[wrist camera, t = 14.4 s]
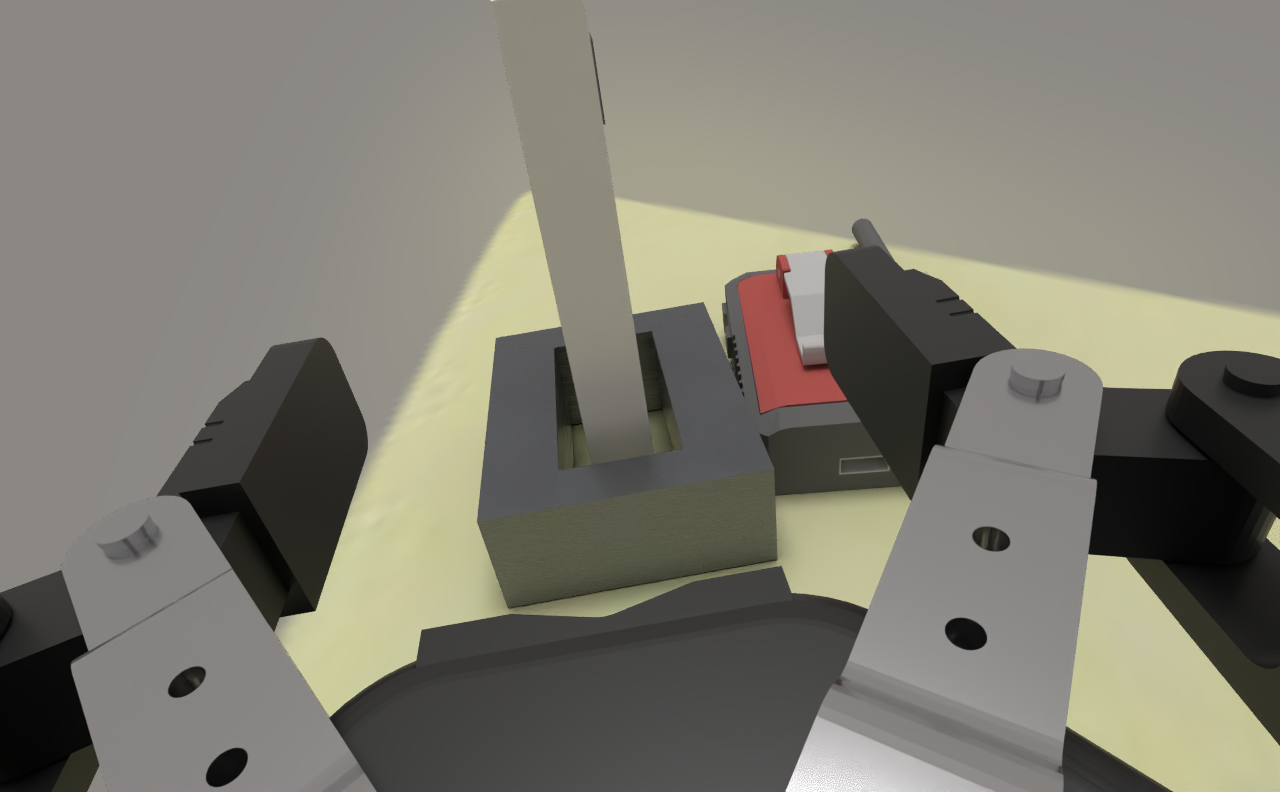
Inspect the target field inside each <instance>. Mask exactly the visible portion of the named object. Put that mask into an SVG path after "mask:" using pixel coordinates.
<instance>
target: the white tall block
mask: <svg viewBox="0 0 1280 792" xmlns="http://www.w3.org/2000/svg"><path fill="white" fill-rule="evenodd" d="M490 3H491V7H492V12H493V17H494V21H495V26H496V30H497V35H498V40H499V44H500V48H501V53H502V57H503V62H504V67H505V71H506V76H507V81H508V85H509V89H510V94H511V98H512V103H513V108H514V112H515V117H516V122H517V126H518V131H519V135H520V140H521V144H522V149H523V154H524V158H525V163H526V167H527V172H528V176H529V181H530V186H531V190H532V195H533V199H534V204H535V208H536V213H537V217H538V222H539V227H540V231H541V236H542V240H543V245H544V249H545V254H546V259H547V263H548V268H549V272H550V277H551V281H552V286H553V290H554V295H555V300H556V304H557V309H558V313H559V318H560V322H561V327H562V332H563V336H564V341H565V345H566V350H567V354H568V359H569V364H570V368H571V373H572V377H573V382H574V386H575V391H576V395H577V400H578V405H579V409H580V414H581V418H582V423H583V427H584V432H585V437H586V441H587V446H588V450H589V455H590V459H591V464H592V465H595V464H600V463H606V462H612V461H617V460H623V459H629V458H634V457H640V456H645V455H651V454H654V452H653V445H652V439H651V432H650V426H649V419H648V413H647V406H646V400H645V393H644V386H643V380H642V373H641V367H640V360H639V354H638V347H637V341H636V334H635V328H634V321H633V315H632V308H631V302H630V295H629V289H628V282H627V276H626V269H625V263H624V256H623V250H622V243H621V237H620V230H619V224H618V217H617V211H616V204H615V198H614V191H613V185H612V179H611V172H610V165H609V159H608V152H607V146H606V139H605V133H604V126H603V125H604V124H605V120H604V113H603V106H602V100H601V94H600V87H599V80H598V74H597V67H596V61H595V55H594V47H593V41H592V37H591V35H590V33H589V30H588V29H589V28H588V22H587V16H586V9H585V3H584V0H491V1H490Z"/></svg>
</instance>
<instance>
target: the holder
mask: <svg viewBox="0 0 1280 792" xmlns="http://www.w3.org/2000/svg"><path fill="white" fill-rule="evenodd" d="M633 321H634V328H635V334H636V341H637V347H638V354H639V360H640V367H641V373H642V380H643V386H644V393H645V400H646V406H647V411H651V410H657V409H663V412H664V416H665V420H666V424H667V428H668V432H669V436H670V440H671V444H672V448H673V451H668V452H662V453H657V454H651V455H645V456H640V457H634V458H629V459H623V460H617V461H612V462H606V463H600V464H595V465H589V466H583V467H578V468H574V453H573V437H572V424H577V423H582V418H581V414H580V409H579V405H578V400H577V395H576V391H575V386H574V382H573V377H572V373H571V368H570V364H569V359H568V354H567V350H566V345H565V341H564V336H563V332H562V327H558V328H552V329H546V330H540V331H534V332H529V333H523V334H517V335H511V336H505V337H500V338H496V343H495V352H494V362H493V372H492V382H491V391H490V401H489V411H488V421H487V430H486V440H485V450H484V459H483V469H482V479H481V489H480V498H479V508H478V518H477V523H478V526H479V528H480V531H481V534H482V537H483V540H484V542H485V545H486V548H487V551H488V554H489V556H490V559H491V562H492V565H493V567H494V570H495V573H496V576H497V579H498V581H499V584H500V587H501V590H502V593H503V595H504V598H505V601H506V604H507V606H508V608H511V607H516V606H522V605H527V604H533V603H538V602H544V601H549V600H555V599H560V598H566V597H571V596H577V595H583V594H588V593H594V592H599V591H605V590H610V589H616V588H621V587H627V586H632V585H638V584H643V583H649V582H654V581H660V580H665V579H671V578H676V577H682V576H687V575H693V574H698V573H704V572H709V571H715V570H720V569H726V568H731V567H737V566H742V565H748V564H753V563H759V562H764V561H770V560H775V559H777V538H776V507H775V477H774V467H773V465H772V462H771V460H770V458H769V455H768V453H767V451H766V448H765V446H764V444H763V441H762V439H761V436H760V434H759V432H758V429H757V427H756V425H755V422H754V420H753V418H752V415H751V413H750V411H749V408H748V406H747V404H746V401H745V399H744V396H743V394H742V392H741V389H740V387H739V385H738V382H737V380H736V378H735V375H734V373H733V371H732V368H731V366H730V364H729V361H728V359H727V357H726V354H725V352H724V349H723V347H722V345H721V342H720V340H719V338H718V335H717V333H716V331H715V328H714V326H713V324H712V321H711V319H710V317H709V314H708V312H707V309H706V307H705V305H704V302H702V303H697V304H691V305H685V306H679V307H673V308H668V309H662V310H656V311H650V312H644V313H639V314H633Z"/></svg>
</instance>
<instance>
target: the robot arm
mask: <svg viewBox="0 0 1280 792" xmlns="http://www.w3.org/2000/svg"><path fill="white" fill-rule="evenodd" d="M824 350H825V356H826V360H827V364H828V367H829V370H830V373H831V375H832V376H833V378H834V380H835V381H836V383H837V384H838V386H839V388H840V389H841V391H842V392H843V394H844V396H845V397H846V399H847V400H848V402H849V403H850V405H851V407H852V408H853V410H854V411H855V413H856V415H857V416H858V418H859V419H860V421H861V423H862V424H863V426H864V427H865V429H866V430H867V432H868V434H869V435H870V437H871V438H872V440H873V442H874V443H875V445H876V446H877V448H878V449H879V451H880V453H881V454H882V456H883V457H884V459H885V461H886V462H887V464H888V465H889V467H890V468H891V470H892V472H893V473H894V475H895V476H896V478H897V480H898V481H899V483H900V484H901V486H902V487H903V489H904V491H905V492H906V494H907V495H908V497H909V499H910V500H911V503H910V506H909V508H908V511H907V513H906V516H905V518H904V521H903V523H902V526H901V528H900V531H899V533H898V536H897V538H896V541H895V543H894V546H893V549H892V551H891V554H890V556H889V559H888V561H887V564H886V566H885V569H884V571H883V574H882V576H881V579H880V581H879V584H878V586H877V589H876V591H875V594H874V596H873V599H872V601H871V604H870V606H869V609H866V608H863V607H860V606H858V605H855V604H852V603H849V602H845V601H841V600H837V599H833V598H829V597H823V596H816V595H809V594H797V593H791V590H790V588H789V585H788V582H787V580H786V577H785V574H784V571H783V569H782V566H779V567H773V568H768V569H762V570H756V571H751V572H745V573H740V574H734V575H728V576H723V577H717V578H711V579H706V580H700V581H695V582H692V583H689V584H687V585H684V586H682V587H679V588H677V589H674V590H672V591H669V592H667V593H665V594H662V595H660V596H657V597H655V598H652V599H650V600H647V601H645V602H642V603H640V604H637V605H635V606H632V607H630V608H627V609H625V610H623V611H620V612H618V613H615V614H612V615H609V616H605V617H570V616H545V615H520V614H509V615H503V616H498V617H492V618H486V619H481V620H475V621H469V622H464V623H458V624H452V625H447V626H441V627H436V628H430V629H424V630H422V631H421V637H420V643H419V649H418V655H417V661H415V662H412V663H410V664H408V665H405V666H403V667H401V668H399V669H397V670H396V671H394V672H392V673H390V674H388V675H386V676H384V677H382V678H381V679H379V680H378V681H376V682H375V683H373V684H371V685H370V686H368V687H367V688H365V689H364V690H362V691H361V692H360V693H358V694H357V695H356V696H355V697H353V698H352V699H351V700H349V701H348V702H347V703H345V704H344V705H343V706H342V707H341V708H340V709H339V710H337V711H336V712H335V713H334V714H333V715H332V716H331V717H329V716H328V714H327V713H326V711H325V709H324V708H323V706H322V705H321V703H320V702H319V700H318V699H317V697H316V696H315V694H314V693H313V691H312V690H311V688H310V686H309V685H308V683H307V682H306V680H305V679H304V677H303V676H302V674H301V673H300V671H299V670H298V668H297V666H296V665H295V663H294V662H293V660H292V659H291V657H290V656H289V654H288V653H287V651H286V650H285V648H284V646H283V645H282V643H281V642H280V640H279V639H278V637H277V636H276V634H275V633H274V631H275V628H276V626H277V623H278V620H279V618H280V617H285V616H291V615H296V614H302V613H308V612H313V611H316V608H317V605H318V602H319V599H320V595H321V592H322V589H323V586H324V583H325V580H326V577H327V574H328V571H329V568H330V565H331V562H332V559H333V556H334V553H335V550H336V547H337V544H338V541H339V538H340V535H341V532H342V528H343V525H344V522H345V519H346V516H347V513H348V510H349V507H350V504H351V501H352V498H353V495H354V492H355V489H356V486H357V483H358V480H359V477H360V474H361V471H362V468H363V465H364V461H365V458H366V455H367V450H368V438H367V430H366V426H365V422H364V419H363V416H362V414H361V411H360V409H359V407H358V404H357V402H356V400H355V398H354V395H353V393H352V390H351V388H350V386H349V383H348V381H347V379H346V377H345V374H344V372H343V370H342V367H341V365H340V363H339V360H338V358H337V356H336V353H335V351H334V349H333V348H332V346H331V344H330V343H329V342H328V341H327V340H326V339H324V338H315V339H310V340H304V341H298V342H292V343H286V344H280V345H274V346H272V347H271V348H270V349H269V351H268V352H267V354H266V356H265V357H264V359H263V360H262V362H261V364H260V365H259V367H258V368H257V370H256V371H255V373H254V375H253V376H252V378H251V379H250V381H245V382H244V383H242V384H241V385H240V386H239V387H238V388H236V389H235V390H234V391H233V392H231V393H230V394H229V395H228V396H226V397H225V398H224V399H223V400H221V401H220V402H219V404H218V405H217V406H216V408H215V409H214V411H213V412H212V414H211V415H210V417H209V418H208V420H207V421H206V423H205V425H206V427H205V428H202V429H201V431H200V432H199V434H198V435H197V436H196V438H195V440H194V441H193V443H194V446H190V447H189V448H188V450H187V451H186V453H185V455H184V456H183V457H182V459H181V461H180V462H179V463H178V465H177V467H176V468H175V470H174V471H173V472H172V474H171V475H170V477H169V478H168V480H167V482H166V483H165V484H164V486H163V487H162V489H161V490H160V492H159V493H158V495H157V496H156V497H152V498H147V499H143V500H140V501H137V502H134V503H132V504H129V505H126V506H125V507H122V508H120V509H118V510H116V511H114V512H112V513H111V514H108V515H107V516H105V517H103V518H102V519H100V520H99V521H97V522H95V523H94V524H93V525H91V526H90V527H89V528H87V529H86V530H85V531H84V532H83V533H82V534H81V535H79V536H78V537H77V539H76V540H75V541H74V542H73V543H72V544H71V545H70V547H69V548H68V549H67V551H66V553H65V555H64V557H63V559H62V564H61V569H62V570H60V571H58V572H55V573H52V574H50V575H47V576H44V577H42V578H39V579H36V580H33V581H31V582H28V583H25V584H23V585H20V586H17V587H15V588H12V589H9V590H7V591H4V592H1V593H0V792H87V791H88V789H89V787H90V784H91V782H92V780H93V778H94V775H95V774H96V772H97V769H98V767H99V765H100V768H101V771H102V775H103V778H104V782H105V785H106V788H107V792H1172V791H1171V790H1169V789H1168V788H1166V787H1164V786H1163V785H1161V784H1159V783H1158V782H1156V781H1155V780H1153V779H1151V778H1150V777H1148V776H1146V775H1145V774H1143V773H1142V772H1140V771H1138V770H1137V769H1135V768H1133V767H1132V766H1130V765H1128V764H1127V763H1125V762H1124V761H1122V760H1120V759H1119V758H1117V757H1115V756H1114V755H1112V754H1111V753H1109V752H1107V751H1106V750H1104V749H1102V748H1101V747H1099V746H1097V745H1096V744H1094V743H1093V742H1091V741H1089V740H1088V739H1086V738H1084V737H1083V736H1081V735H1080V734H1078V733H1076V732H1075V731H1073V730H1071V729H1070V728H1068V727H1067V726H1066V721H1067V713H1068V706H1069V698H1070V690H1071V682H1072V675H1073V667H1074V659H1075V652H1076V644H1077V636H1078V628H1079V621H1080V613H1081V605H1082V597H1083V590H1084V582H1085V574H1086V567H1087V559H1088V554H1091V555H1104V556H1117V557H1126V558H1127V559H1128V561H1129V562H1130V563H1131V565H1132V566H1133V567H1134V568H1135V570H1136V571H1137V572H1138V573H1139V574H1140V576H1141V577H1142V578H1143V579H1144V580H1145V582H1146V583H1147V584H1148V585H1149V587H1150V588H1151V589H1152V590H1153V591H1154V593H1155V594H1156V595H1157V596H1158V598H1159V599H1160V600H1161V601H1162V602H1163V604H1164V605H1165V606H1166V607H1167V609H1168V610H1169V611H1170V612H1171V613H1172V615H1173V616H1174V617H1175V618H1176V620H1177V621H1178V622H1179V623H1180V624H1181V626H1182V627H1183V628H1184V629H1185V631H1186V632H1187V633H1188V634H1189V635H1190V637H1191V638H1192V639H1193V640H1194V642H1195V643H1196V644H1197V645H1198V646H1199V648H1200V649H1201V650H1202V651H1203V653H1204V654H1205V655H1206V656H1207V657H1208V659H1209V660H1210V661H1211V662H1212V664H1213V665H1214V666H1215V667H1216V668H1217V670H1218V671H1219V672H1220V673H1221V675H1222V676H1223V677H1224V678H1225V679H1226V681H1227V682H1228V683H1229V684H1230V686H1231V687H1232V688H1233V689H1234V690H1235V692H1236V693H1237V694H1238V695H1239V697H1240V698H1241V699H1242V700H1243V701H1244V703H1245V704H1246V705H1247V706H1248V708H1249V709H1250V710H1251V711H1252V712H1253V714H1254V715H1255V716H1256V717H1257V719H1258V720H1259V721H1260V722H1261V723H1262V725H1263V726H1264V727H1265V728H1266V729H1267V731H1268V732H1269V733H1270V734H1271V736H1272V737H1273V738H1274V739H1275V740H1276V742H1277V743H1278V744H1279V745H1280V550H1279V549H1278V548H1277V547H1275V546H1274V545H1273V544H1272V543H1271V542H1270V541H1269V540H1268V539H1267V538H1266V537H1267V535H1268V533H1269V531H1270V529H1271V527H1272V525H1273V523H1274V521H1275V519H1276V517H1278V518H1279V519H1280V359H1279V358H1275V357H1271V356H1267V355H1262V354H1257V353H1250V352H1242V351H1212V352H1206V353H1200V354H1197V355H1194V356H1191V357H1190V358H1188V359H1186V360H1185V361H1184V362H1183V363H1182V364H1181V365H1180V367H1179V369H1178V372H1177V375H1176V378H1175V381H1174V384H1173V387H1172V389H1134V388H1106V387H1103V384H1102V381H1101V379H1100V377H1099V376H1098V375H1097V373H1096V372H1094V371H1093V370H1092V369H1091V368H1090V367H1088V366H1087V365H1085V364H1084V363H1082V362H1080V361H1078V360H1076V359H1074V358H1071V357H1069V356H1066V355H1063V354H1059V353H1056V352H1051V351H1046V350H1038V349H1016V348H1015V347H1014V346H1013V345H1012V344H1011V343H1010V342H1009V341H1008V340H1007V339H1005V338H1004V337H1003V336H1002V335H1001V334H1000V333H999V332H998V331H997V330H996V329H994V328H993V327H992V326H991V325H990V324H989V323H988V322H987V321H986V320H985V319H983V318H982V317H981V316H980V315H979V314H978V313H974V311H973V309H972V308H971V307H970V306H969V305H968V304H967V303H966V302H965V301H964V300H959V296H958V295H957V294H956V293H955V292H954V291H953V290H952V289H950V288H949V287H948V286H947V285H946V284H945V283H944V282H943V281H942V280H939V279H937V278H934V277H932V276H929V275H927V274H925V273H922V272H920V271H917V270H915V269H911V270H905V271H904V270H903V269H902V268H901V267H900V266H899V265H898V264H897V263H896V262H895V261H894V260H893V259H892V258H891V257H890V256H889V255H888V254H887V253H886V252H885V251H884V250H883V249H882V248H881V247H879V246H878V245H873V246H867V247H861V248H855V249H849V250H843V251H837V252H831V253H829V254H828V256H827V259H826V263H825V285H824Z"/></svg>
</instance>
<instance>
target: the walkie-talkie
mask: <svg viewBox="0 0 1280 792" xmlns="http://www.w3.org/2000/svg"><path fill="white" fill-rule="evenodd" d="M852 233H853V234H854V236H855V238H856V240H857V242H858V244H859V245H860V247H867V246H873V245H878V246H879V247H881V248H882V249H883V250H884V251H885V252H886V253H887V254H888V255H889V256H890V257H891V258H892V256H891V254H890V253H889V251H888V249H887V248H886V246H885V245H884V243H883V241H882V240H881V238H880V236H879V235H878V233H877V232H876V230H875V228H874V227H873V225H872V224H871V222H870V221H869V220H867V219H860V220H857V221H856V222H855V223H854V225H853V227H852ZM831 252H833V251H832V250H824V251H815V252H806V253H796V254H787V255H778V256H777V260H776V270H767V271H757V272H748V273H745V274H743V275H741V276H739V277H737V278H735V279H733V280H731V281H730V282H729V283H728V284H726V285H725V295H726V303H722V310H723V323H724V331H725V333H726V345H727V354H728V358H732V364H733V371H734V375H735V378H736V380H737V382H738V385H739V387H740V389H741V392H742V394H743V396H744V399H745V401H746V404H747V406H748V408H749V411H750V413H751V415H752V418H753V420H754V422H755V425H756V427H757V429H758V432H759V434H760V436H761V439H762V441H763V444H764V446H765V448H766V451H767V453H768V455H769V458H770V460H771V462H772V465H773V467H774V477H775V496H777V495H790V494H803V493H817V492H830V491H843V490H857V489H870V488H883V487H896V486H901V484H900V483H899V481H898V480H897V478H896V476H895V475H894V473H893V472H892V470H891V468H890V467H889V465H888V464H887V462H886V461H885V459H884V457H883V456H882V454H881V453H880V451H879V449H878V448H877V446H876V445H875V443H874V442H873V440H872V438H871V437H870V435H869V434H868V432H867V430H866V429H865V427H864V426H863V424H862V423H861V421H860V419H859V418H858V416H857V415H856V413H855V411H854V410H853V408H852V407H851V405H850V403H849V402H848V400H847V399H846V397H845V396H844V394H843V392H842V391H841V389H840V388H839V386H838V384H837V383H836V381H835V380H834V378H833V376H832V375H831V373H830V370H829V367H828V364H827V360H826V356H825V350H824V285H825V263H826V259H827V256H828V254H829V253H831ZM892 259H893V258H892ZM893 260H894V259H893ZM925 274H927V273H926V272H925ZM927 275H928V274H927Z"/></svg>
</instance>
